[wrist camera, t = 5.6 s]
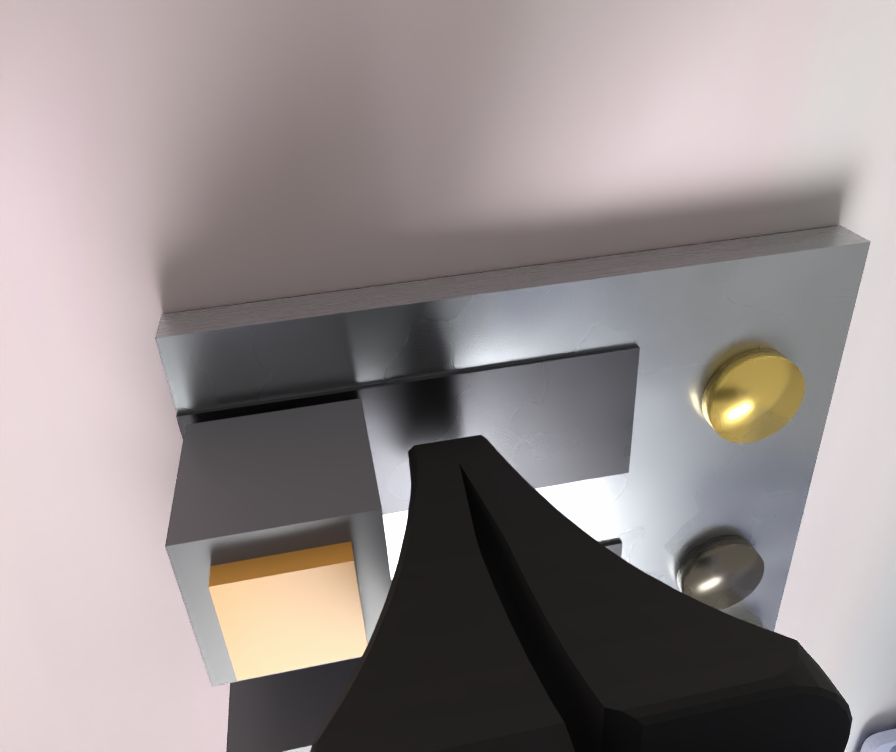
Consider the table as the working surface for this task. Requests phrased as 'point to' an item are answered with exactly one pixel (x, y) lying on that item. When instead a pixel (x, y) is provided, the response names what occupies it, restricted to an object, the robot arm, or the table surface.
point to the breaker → (285, 707)
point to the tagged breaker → (279, 540)
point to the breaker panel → (578, 390)
